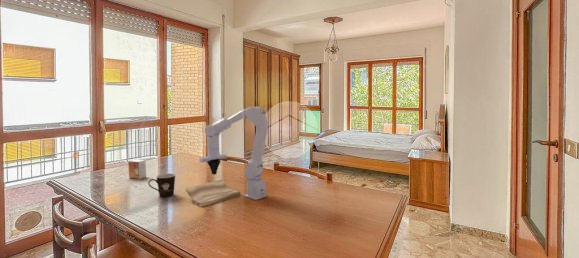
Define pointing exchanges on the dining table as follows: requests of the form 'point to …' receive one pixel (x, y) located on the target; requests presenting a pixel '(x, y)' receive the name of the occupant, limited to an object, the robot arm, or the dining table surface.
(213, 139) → the robot arm
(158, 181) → the coffee mug
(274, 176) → the dining table surface
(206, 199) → the laid boards
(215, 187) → the plank
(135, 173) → the small box
